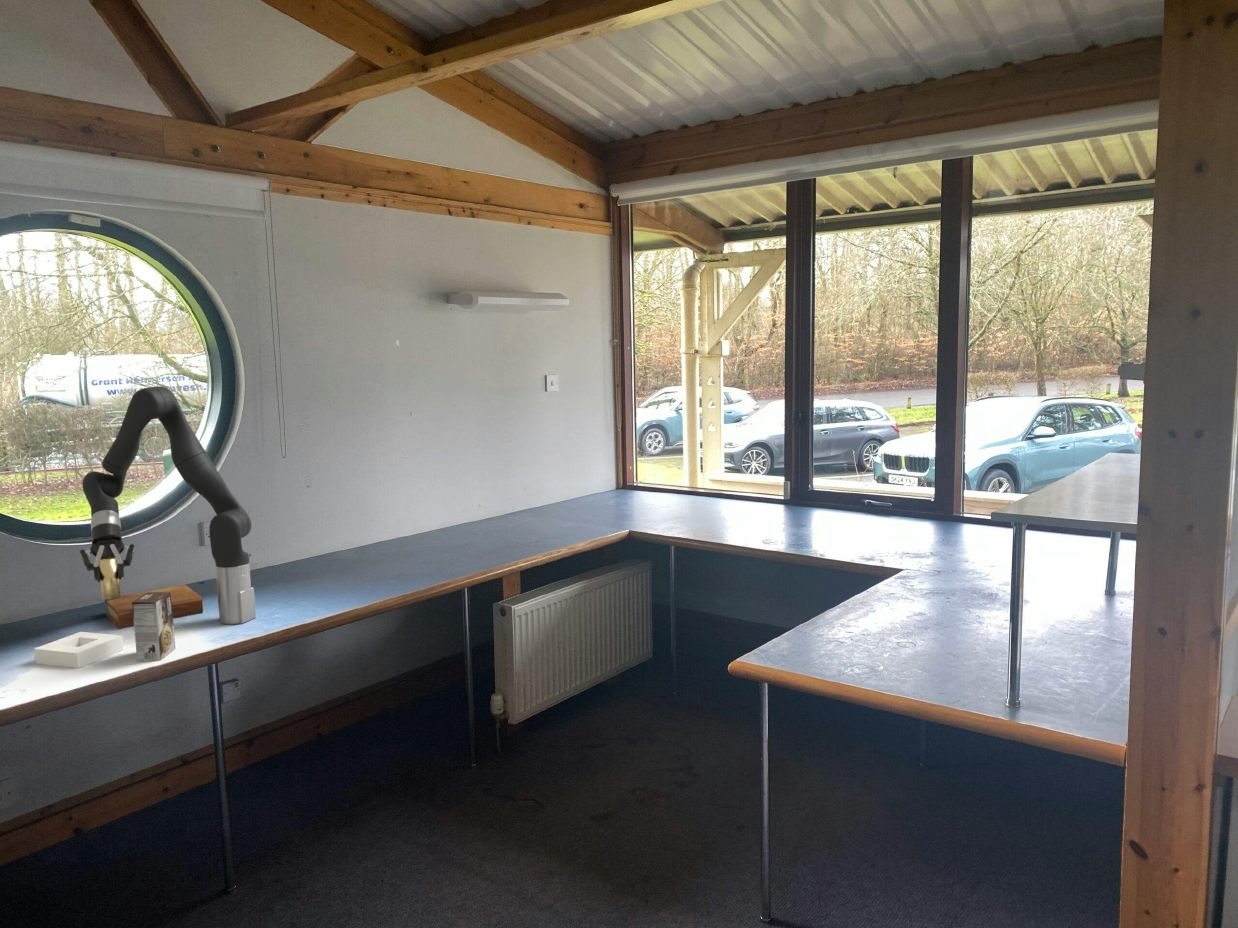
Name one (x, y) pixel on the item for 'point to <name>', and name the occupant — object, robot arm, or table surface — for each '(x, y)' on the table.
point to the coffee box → (153, 626)
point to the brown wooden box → (181, 596)
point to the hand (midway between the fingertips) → (109, 578)
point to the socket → (78, 649)
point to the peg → (109, 578)
